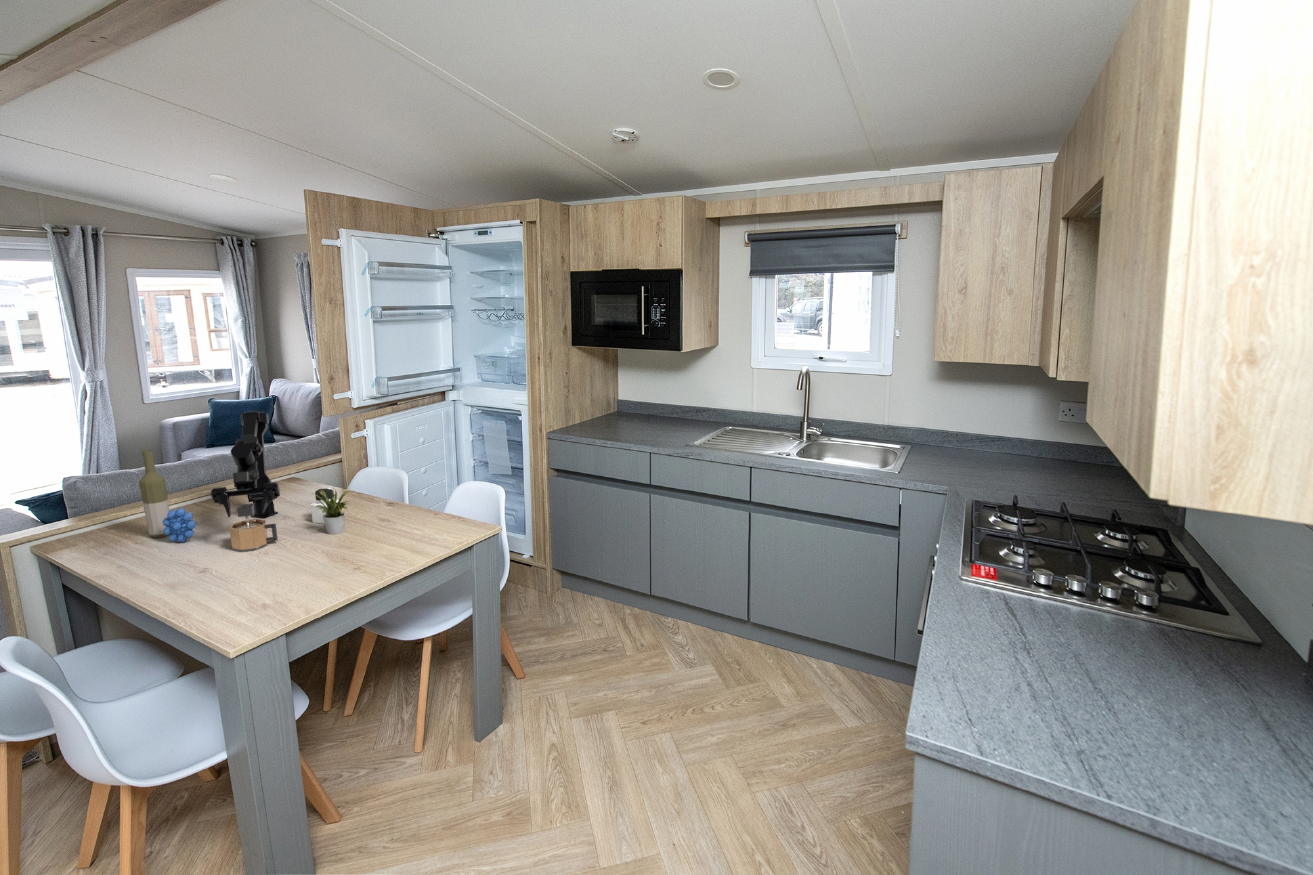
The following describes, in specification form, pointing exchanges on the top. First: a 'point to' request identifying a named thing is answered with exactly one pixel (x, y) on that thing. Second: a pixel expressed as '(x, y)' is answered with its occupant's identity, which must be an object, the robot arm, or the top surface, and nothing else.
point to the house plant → (333, 513)
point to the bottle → (153, 496)
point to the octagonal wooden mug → (251, 536)
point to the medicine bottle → (318, 513)
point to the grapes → (179, 525)
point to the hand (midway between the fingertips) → (245, 515)
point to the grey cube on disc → (246, 515)
